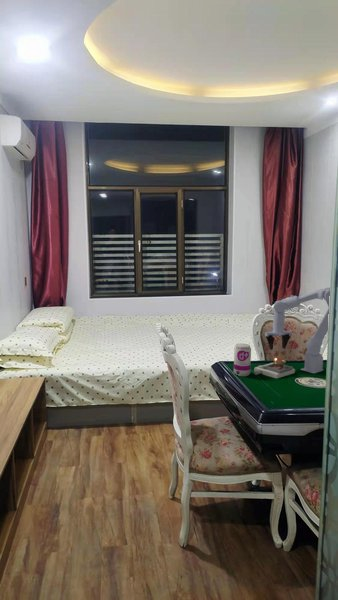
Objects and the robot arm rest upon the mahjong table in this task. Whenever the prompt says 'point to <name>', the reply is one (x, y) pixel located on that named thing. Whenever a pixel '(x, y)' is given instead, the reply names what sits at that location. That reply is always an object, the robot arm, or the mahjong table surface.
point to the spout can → (278, 363)
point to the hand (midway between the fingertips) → (277, 348)
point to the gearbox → (273, 370)
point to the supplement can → (242, 359)
